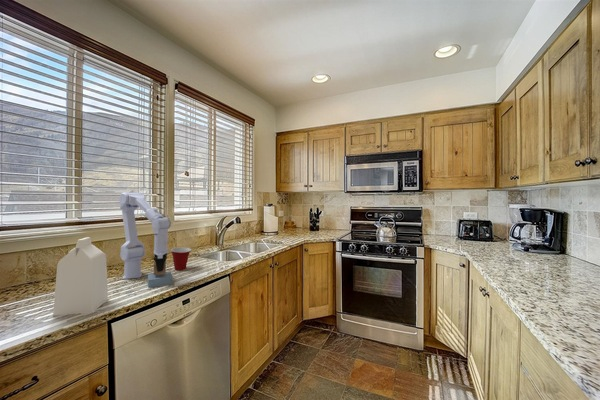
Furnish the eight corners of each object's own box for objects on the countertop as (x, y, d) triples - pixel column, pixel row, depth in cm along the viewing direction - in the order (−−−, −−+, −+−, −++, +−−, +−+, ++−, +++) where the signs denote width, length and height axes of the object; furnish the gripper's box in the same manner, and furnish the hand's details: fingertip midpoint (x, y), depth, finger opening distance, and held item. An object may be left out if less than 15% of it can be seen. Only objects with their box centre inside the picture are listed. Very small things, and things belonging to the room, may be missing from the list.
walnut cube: (154, 272, 122) (154, 262, 122) (165, 270, 124) (165, 261, 124) (153, 275, 117) (153, 264, 117) (165, 273, 120) (165, 263, 120)
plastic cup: (182, 272, 137) (182, 251, 137) (165, 270, 140) (166, 249, 140) (194, 267, 148) (195, 247, 148) (179, 265, 150) (179, 246, 150)
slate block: (147, 282, 122) (147, 274, 122) (170, 279, 128) (170, 271, 128) (148, 288, 114) (148, 280, 114) (172, 285, 119) (172, 276, 119)
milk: (92, 312, 89) (94, 241, 89) (53, 315, 86) (54, 241, 86) (107, 299, 100) (109, 235, 100) (73, 301, 97) (75, 236, 97)
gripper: (170, 244, 116) (169, 273, 116) (170, 239, 129) (169, 265, 129) (152, 245, 113) (152, 274, 113) (154, 240, 126) (153, 266, 126)
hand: (160, 269), depth 121 cm, fingers closed on walnut cube, 5 cm apart
